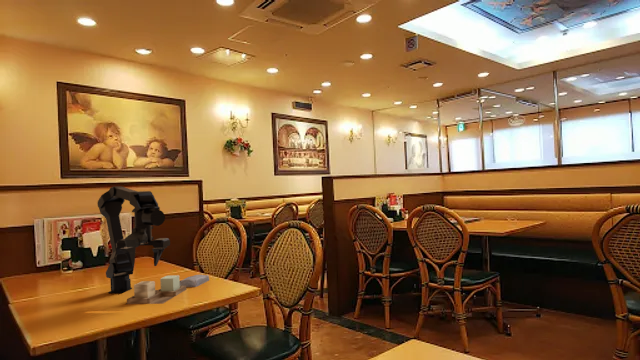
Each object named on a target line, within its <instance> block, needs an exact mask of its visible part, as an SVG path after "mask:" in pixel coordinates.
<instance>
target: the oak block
mask: <svg viewBox="0 0 640 360" xmlns="http://www.w3.org/2000/svg"><path fill="white" fill-rule="evenodd" d="M133 290H134V291H133V294H134V295H133V296H134V297H135V298H149V297H151V296H153V295H155V290H156V281H155V280H152V281H151V280H144V281H143V280H142V281H140V282H137V283H134V285H133Z"/></svg>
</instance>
